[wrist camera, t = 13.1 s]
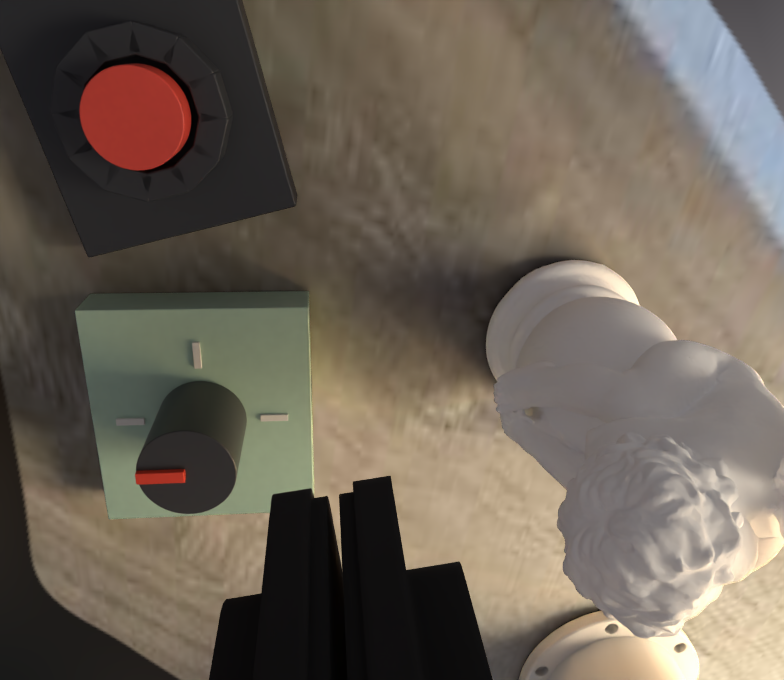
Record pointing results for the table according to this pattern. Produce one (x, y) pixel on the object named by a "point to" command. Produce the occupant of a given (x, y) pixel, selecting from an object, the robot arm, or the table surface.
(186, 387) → the dial
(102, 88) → the button
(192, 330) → the console
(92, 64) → the button box
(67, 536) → the table surface
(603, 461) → the cherub figurine
